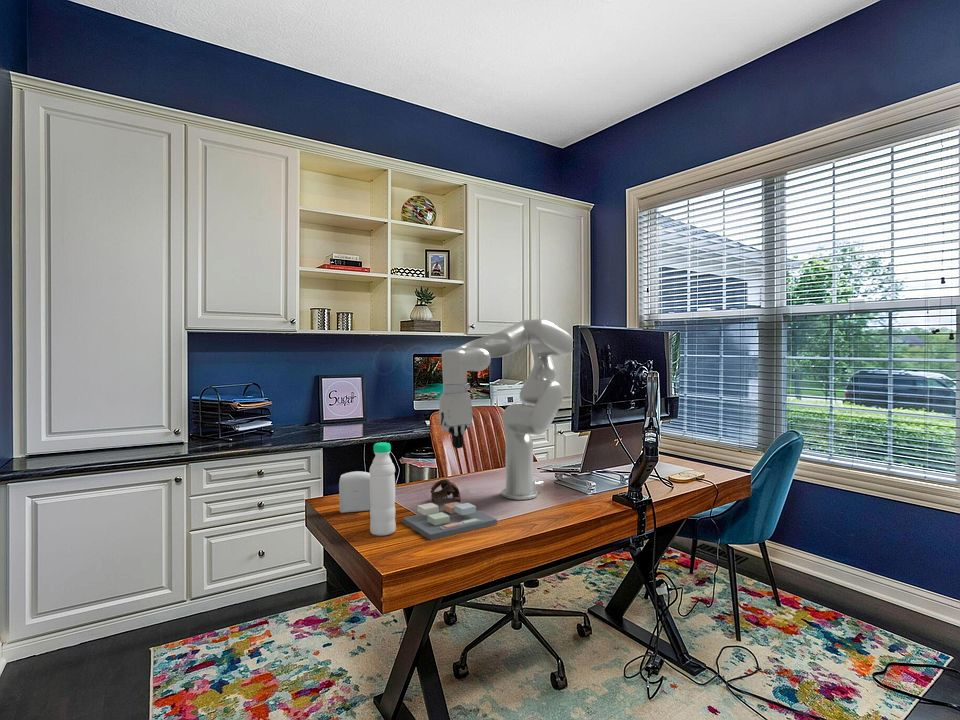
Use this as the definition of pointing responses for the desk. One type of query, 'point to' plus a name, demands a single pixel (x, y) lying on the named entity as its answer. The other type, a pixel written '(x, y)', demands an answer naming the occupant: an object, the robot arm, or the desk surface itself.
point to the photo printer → (354, 492)
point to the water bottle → (382, 491)
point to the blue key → (464, 508)
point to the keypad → (449, 524)
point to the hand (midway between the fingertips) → (457, 447)
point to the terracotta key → (450, 507)
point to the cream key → (427, 508)
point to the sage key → (438, 518)
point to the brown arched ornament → (445, 490)
